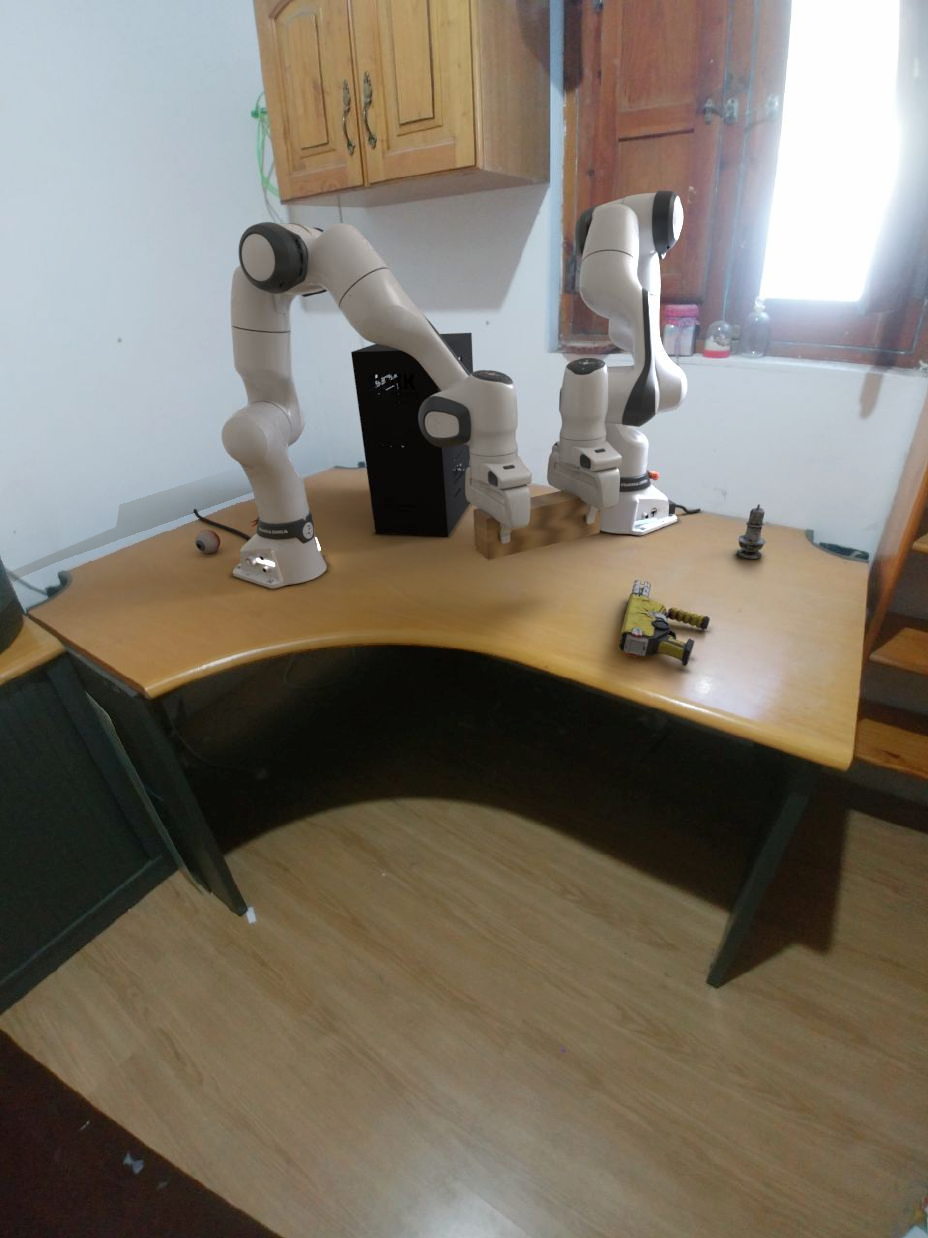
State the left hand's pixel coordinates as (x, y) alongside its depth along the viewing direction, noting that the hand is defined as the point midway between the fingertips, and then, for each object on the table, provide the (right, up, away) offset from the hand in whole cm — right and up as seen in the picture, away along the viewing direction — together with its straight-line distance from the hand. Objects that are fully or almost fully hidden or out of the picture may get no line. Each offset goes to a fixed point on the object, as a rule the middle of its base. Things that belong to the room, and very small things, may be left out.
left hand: (495, 535), depth 118 cm
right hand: (+18, +5, +7) cm, 19 cm away
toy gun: (+31, -19, -5) cm, 37 cm away
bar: (+9, 0, +5) cm, 10 cm away
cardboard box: (-16, +15, +58) cm, 62 cm away
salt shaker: (+60, -1, +21) cm, 63 cm away
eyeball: (-72, +1, +39) cm, 82 cm away
